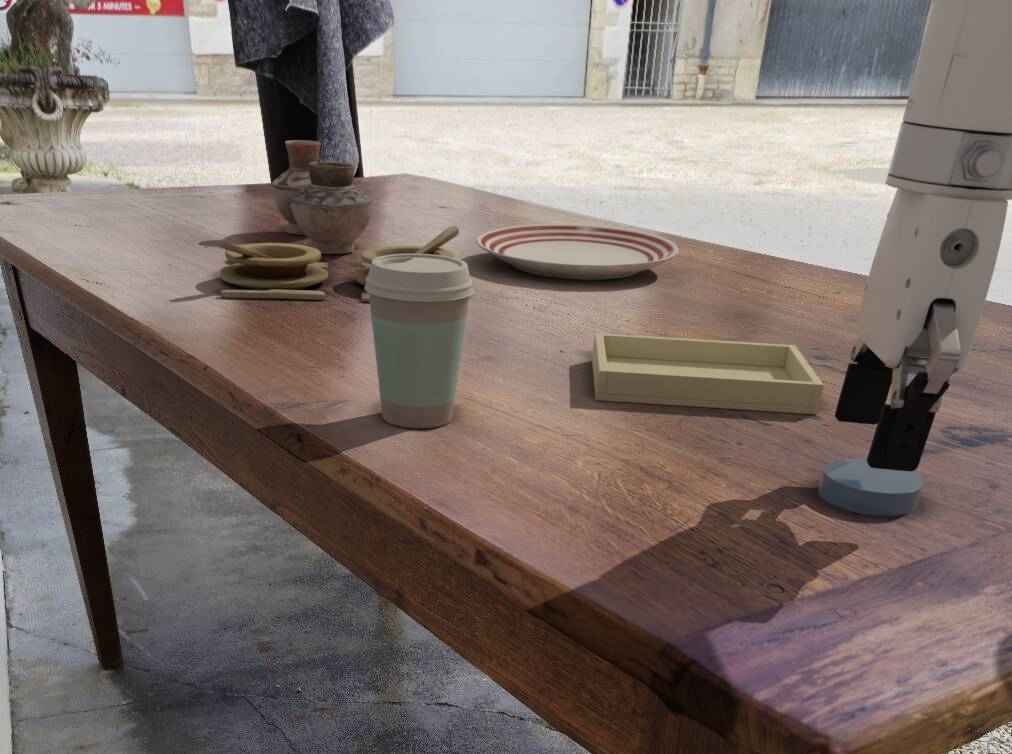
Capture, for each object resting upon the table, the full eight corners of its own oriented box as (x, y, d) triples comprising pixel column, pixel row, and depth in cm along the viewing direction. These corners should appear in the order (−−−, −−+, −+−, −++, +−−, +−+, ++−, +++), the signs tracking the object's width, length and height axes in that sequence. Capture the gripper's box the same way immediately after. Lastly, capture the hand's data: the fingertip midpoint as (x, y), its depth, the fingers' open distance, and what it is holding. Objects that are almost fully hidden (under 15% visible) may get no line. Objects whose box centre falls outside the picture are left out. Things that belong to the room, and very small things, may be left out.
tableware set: (454, 270, 138) (456, 220, 135) (469, 304, 122) (471, 248, 119) (227, 265, 135) (223, 214, 132) (212, 299, 119) (207, 242, 116)
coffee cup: (432, 397, 92) (436, 249, 85) (487, 425, 86) (496, 268, 79) (347, 410, 88) (344, 256, 81) (399, 440, 82) (400, 277, 75)
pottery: (331, 226, 162) (329, 138, 155) (384, 257, 144) (384, 158, 137) (260, 228, 159) (255, 138, 152) (305, 260, 140) (301, 158, 133)
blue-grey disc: (900, 490, 78) (908, 461, 76) (926, 526, 72) (935, 496, 71) (807, 484, 78) (814, 455, 77) (826, 520, 72) (834, 489, 71)
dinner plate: (630, 297, 128) (634, 268, 127) (439, 268, 139) (439, 240, 137) (701, 264, 148) (706, 239, 146) (529, 240, 159) (531, 216, 157)
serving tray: (789, 372, 103) (795, 345, 102) (816, 414, 92) (824, 384, 91) (591, 359, 104) (594, 332, 103) (595, 400, 93) (599, 370, 92)
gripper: (1078, 187, 55) (966, 494, 65) (973, 154, 69) (894, 411, 79) (936, 175, 56) (846, 483, 65) (860, 145, 70) (795, 402, 80)
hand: (872, 443), depth 72 cm, fingers open, 9 cm apart
